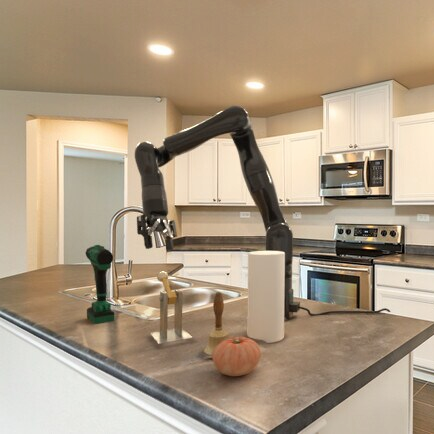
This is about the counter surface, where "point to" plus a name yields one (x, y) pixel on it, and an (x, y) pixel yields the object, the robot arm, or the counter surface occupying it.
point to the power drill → (100, 284)
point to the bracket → (165, 334)
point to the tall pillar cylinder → (266, 295)
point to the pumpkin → (236, 356)
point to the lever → (167, 287)
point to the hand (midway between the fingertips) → (159, 249)
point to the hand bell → (216, 326)
